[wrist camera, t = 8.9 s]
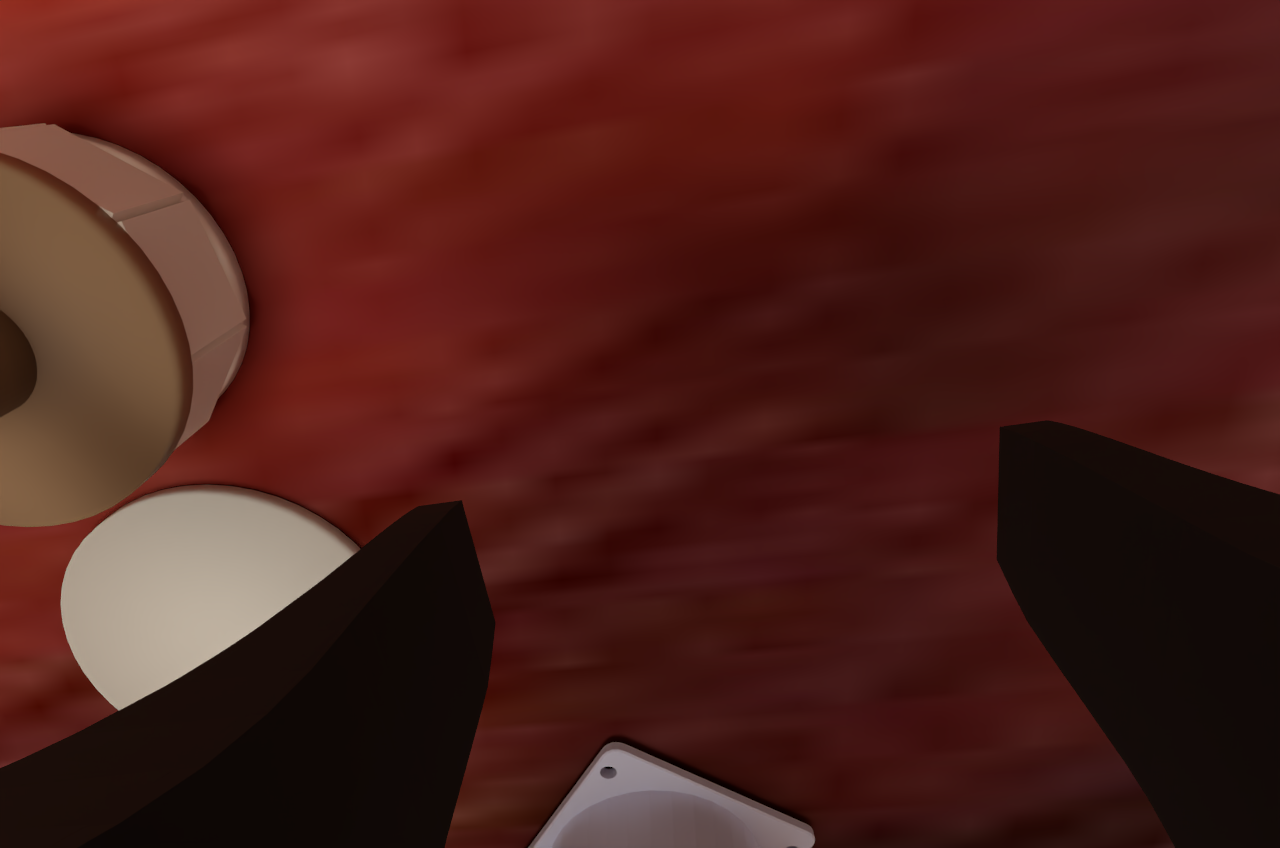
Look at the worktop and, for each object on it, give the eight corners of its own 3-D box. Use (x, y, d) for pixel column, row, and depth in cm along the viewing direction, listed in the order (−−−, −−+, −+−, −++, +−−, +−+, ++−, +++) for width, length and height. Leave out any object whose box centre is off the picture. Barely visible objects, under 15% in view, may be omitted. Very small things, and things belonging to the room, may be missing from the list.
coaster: (332, 789, 27) (326, 804, 27) (38, 672, 25) (24, 686, 25) (456, 578, 24) (451, 590, 23) (127, 425, 22) (113, 435, 21)
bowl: (195, 476, 23) (122, 545, 19) (-92, 344, 21) (-223, 395, 18) (293, 237, 20) (226, 271, 17) (-27, 66, 18) (-168, 68, 15)
